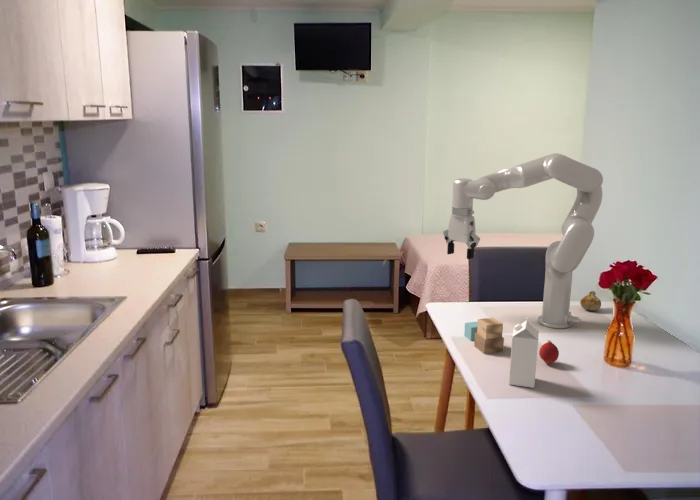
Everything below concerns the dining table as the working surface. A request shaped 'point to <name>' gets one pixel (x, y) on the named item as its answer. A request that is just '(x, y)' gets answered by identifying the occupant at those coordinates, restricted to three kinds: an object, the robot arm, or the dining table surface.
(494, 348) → the walnut base block
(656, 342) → the dining table surface
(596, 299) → the onion
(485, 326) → the oak middle block
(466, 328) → the teal cube
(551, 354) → the onion
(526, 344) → the milk carton
